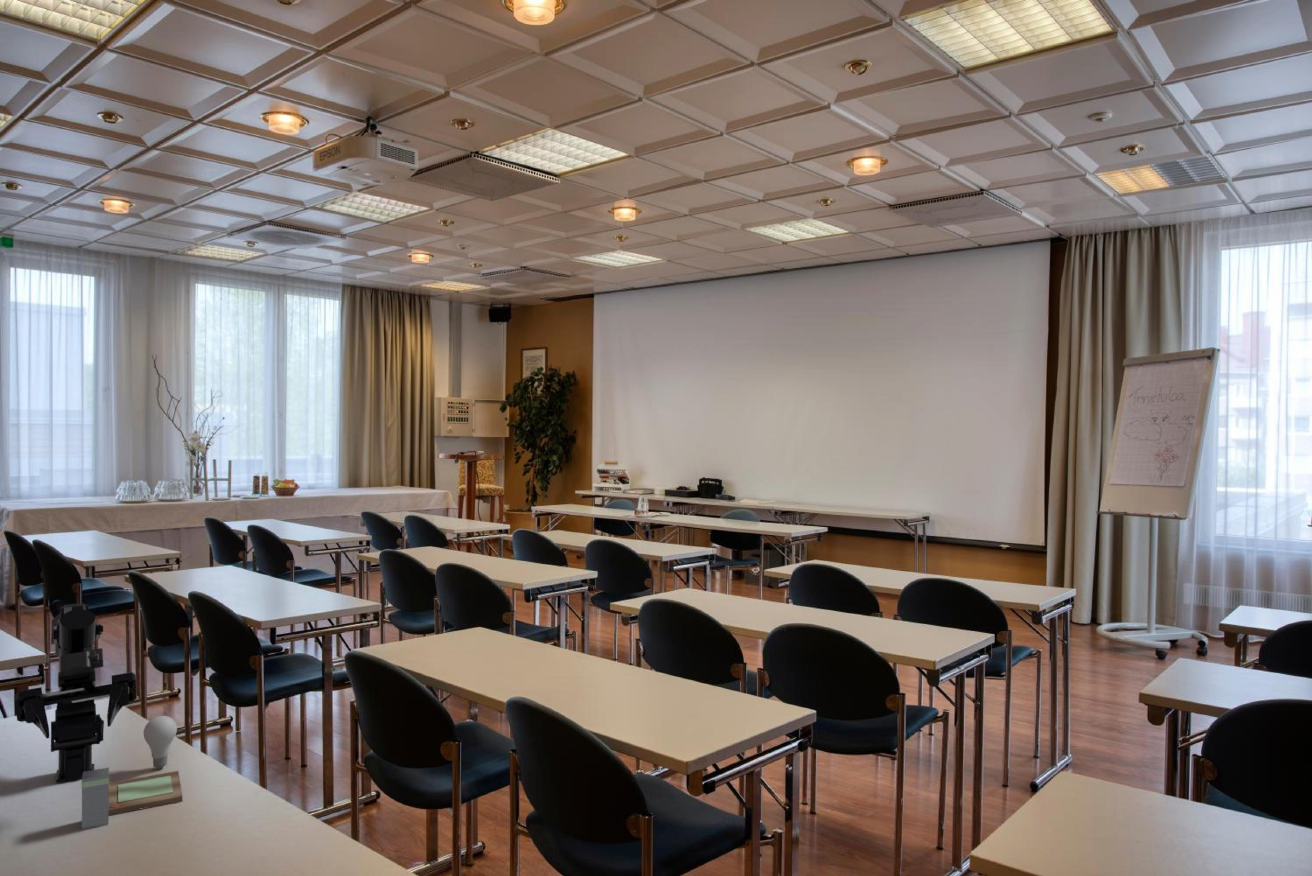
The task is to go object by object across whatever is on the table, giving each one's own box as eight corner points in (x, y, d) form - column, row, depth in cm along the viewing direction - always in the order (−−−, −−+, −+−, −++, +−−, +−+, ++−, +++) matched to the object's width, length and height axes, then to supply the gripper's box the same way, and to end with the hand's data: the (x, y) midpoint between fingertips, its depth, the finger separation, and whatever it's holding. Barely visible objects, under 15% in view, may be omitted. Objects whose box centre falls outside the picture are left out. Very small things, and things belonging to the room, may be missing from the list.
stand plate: (109, 788, 170) (109, 782, 170) (178, 775, 177) (178, 769, 177) (108, 815, 158) (108, 809, 158) (182, 801, 165) (182, 795, 165)
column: (82, 820, 156) (82, 771, 156) (108, 815, 158) (109, 767, 158) (81, 830, 153) (81, 780, 153) (108, 824, 155) (108, 775, 155)
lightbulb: (142, 776, 176) (142, 723, 176) (144, 765, 181) (144, 714, 181) (176, 771, 179) (176, 719, 179) (177, 760, 184) (177, 710, 184)
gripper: (13, 646, 157) (10, 711, 146) (132, 629, 167) (138, 689, 156) (18, 688, 162) (16, 754, 151) (133, 669, 172) (139, 730, 162)
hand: (78, 730), depth 155 cm, fingers open, 9 cm apart
